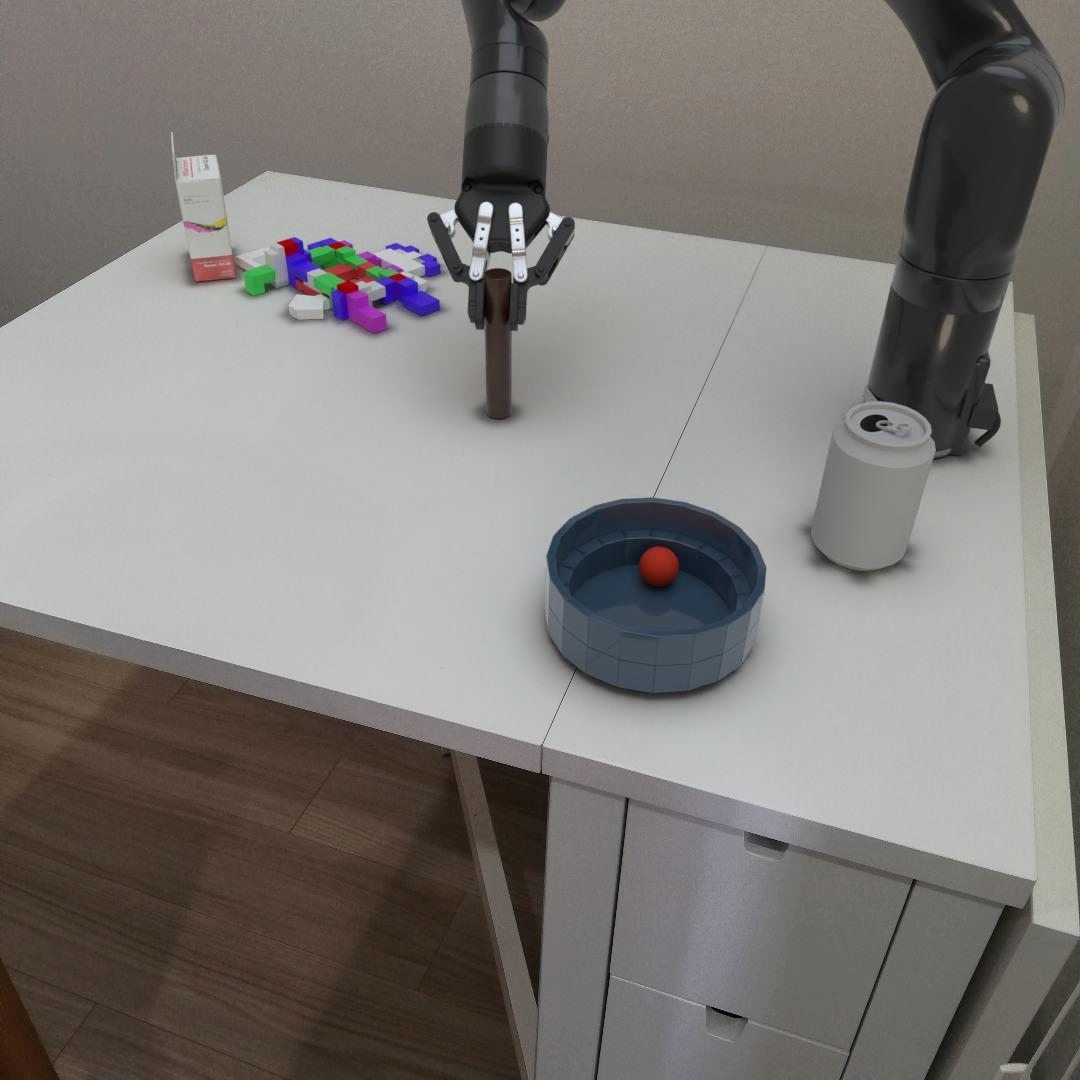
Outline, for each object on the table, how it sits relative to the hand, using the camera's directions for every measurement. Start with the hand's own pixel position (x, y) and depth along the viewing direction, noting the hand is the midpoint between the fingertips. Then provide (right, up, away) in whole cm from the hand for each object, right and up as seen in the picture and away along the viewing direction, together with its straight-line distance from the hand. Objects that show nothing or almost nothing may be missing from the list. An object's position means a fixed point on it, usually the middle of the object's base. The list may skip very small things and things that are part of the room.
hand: (496, 326), depth 93 cm
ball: (+13, -21, -13) cm, 28 cm away
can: (+29, -20, -7) cm, 36 cm away
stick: (0, -7, +8) cm, 10 cm away
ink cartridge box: (-35, +14, +33) cm, 50 cm away
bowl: (+12, -25, -15) cm, 31 cm away
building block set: (-18, +11, +30) cm, 37 cm away
